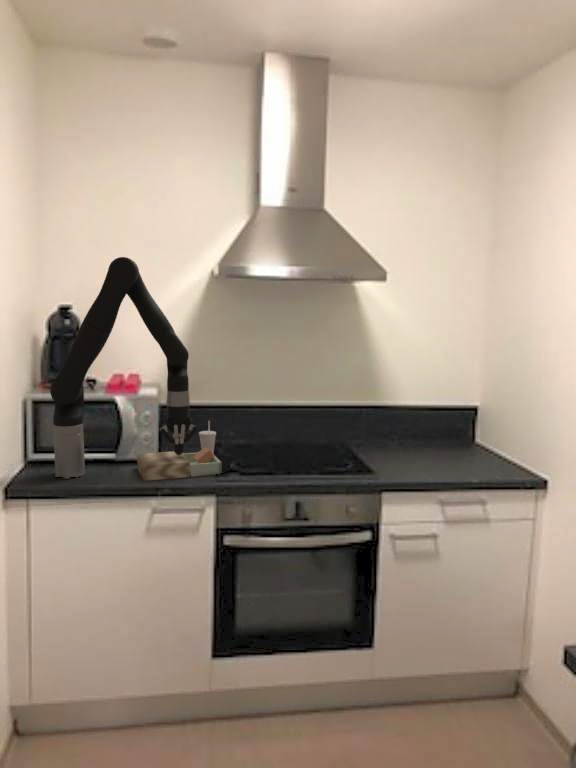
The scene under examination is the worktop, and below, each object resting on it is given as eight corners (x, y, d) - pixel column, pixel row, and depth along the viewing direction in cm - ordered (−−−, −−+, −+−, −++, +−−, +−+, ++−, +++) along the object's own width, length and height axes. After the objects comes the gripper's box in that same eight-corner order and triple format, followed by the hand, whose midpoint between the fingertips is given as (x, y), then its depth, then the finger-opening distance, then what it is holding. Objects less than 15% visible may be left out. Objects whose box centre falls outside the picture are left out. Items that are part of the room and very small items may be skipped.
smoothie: (213, 461, 233) (213, 422, 231) (196, 459, 234) (196, 422, 232) (218, 456, 239) (218, 419, 237) (202, 455, 241) (202, 418, 239)
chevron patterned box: (143, 480, 208) (143, 465, 207) (137, 468, 222) (137, 454, 222) (190, 476, 213) (189, 462, 212) (180, 464, 228) (180, 450, 227)
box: (190, 476, 213) (190, 465, 212) (181, 464, 228) (181, 453, 227) (221, 474, 216) (221, 462, 216) (210, 462, 231) (210, 451, 231)
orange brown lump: (209, 450, 221) (214, 456, 222) (205, 446, 226) (210, 452, 228) (197, 460, 220) (202, 466, 221) (193, 456, 225) (198, 463, 226)
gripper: (159, 406, 210) (160, 458, 213) (200, 404, 215) (200, 455, 217) (156, 402, 217) (157, 453, 220) (195, 401, 222) (195, 450, 224)
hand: (178, 454), depth 218 cm, fingers closed
